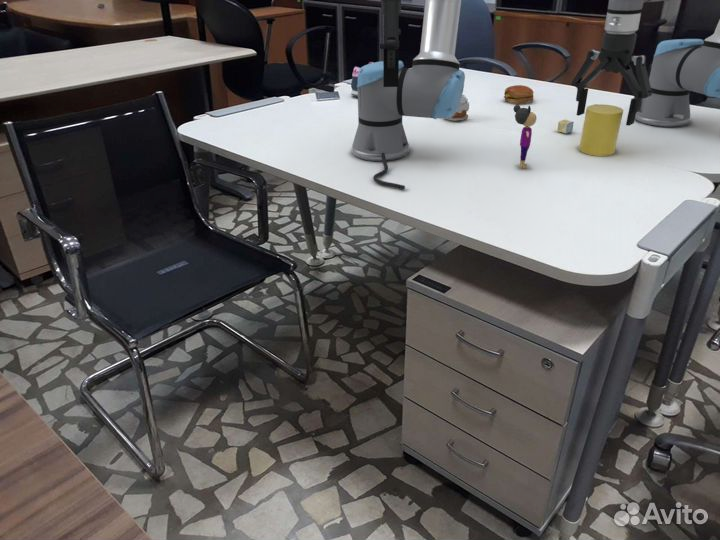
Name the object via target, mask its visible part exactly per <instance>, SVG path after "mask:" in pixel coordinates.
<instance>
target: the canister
mask: <svg viewBox="0 0 720 540" xmlns="http://www.w3.org/2000/svg"><path fill="white" fill-rule="evenodd" d="M623 114H624V109H623V108H622V107H619V106H616V105H612V104H599V103H598V104H591V105H588V106H586V108H585V113H584V120H583V125H582V126H583V127H582V130H581V136H580V142H579V147H578V149H579V152H581V153H583V154H586V155H590V156H594V157H607V156H612V155H613V154H615V152H616V147H617V144H618V143H617V142H618V137H619V133H620V127H621V124H622V120H623V119H622V118H623Z"/></svg>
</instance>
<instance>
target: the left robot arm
mask: <svg viewBox="0 0 720 540" xmlns="http://www.w3.org/2000/svg"><path fill="white" fill-rule="evenodd" d="M380 2H381V3H380V4H381V6H380V7H381V15H383V17H384V18H383V19H384V20H383V23H384V24H383V43H379V50H382V51H383V58H382V59H383V60H382V61H376V62H373V63H371V64H369V63H368V64H365V65H363V66H361V67H359V68H360V69H359V71H358V84H357V90H358V97H357V112H358V113H357V115H358V118H357V119H358V125H357V128H356V131H355V135H354V138H353V141H352V144H351V147H352V155H353V156H354V157H356V158H358V159H360V160H364V161H371V162H382V164H383V169H382V170H381V171H379V172H377V173H376V174H374V175H373V178H372V179H373V181H374V182H375V183H377V184H379V185H380V186H385V187H389V188H394V189H399V190H405V189H406V185H404V184H400V183H396V182H395V183H394V182H389V181H384V180H381V179H379V177H381V176H383V175H385V174H387V172H388V169H389V165H388V163H387V162H389V161H394V160H398V159H399V160H400V159H401V158H404V157H406V156H407V155H409V151H410V150H409V149H410V145H409V141H408V137H407V134H406V132H405V128H404V125H403V124H404V123H403V117H411V118H413V117H414V118H425V119H433V120H437V119H440V120H441V119H445V120H448V118H451V117H452V116H454V114H455V113H456V111H457V109H458V107H459V104H460V101H461V97H462V95H463V92H464V89H465V80H466V73H465V71H463V70H462V69H460V67H461V63H460V62H459V60H458V59H457V57H456V49H457V48H456V47H457V39H458V30H459V24H460V23H459V22H460V14H461V6H462V0H425V2H424V3H425V4H424V11H423V21H422V31H421V38H420V40H421V41H420V49H419V53H418V55H416V56H415V57H414V58H413V59H412V67H405V64H404V62H403V61H402V60H400V48H399V47H400V40H399V39H400V38H399V35H401V33H402V32H401V31H402V30H401V28H399V27H400V26H399V24H400V23H399V20H400V19H399V16H400V14H402V0H380Z"/></svg>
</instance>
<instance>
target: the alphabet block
mask: <svg viewBox="0 0 720 540" xmlns="http://www.w3.org/2000/svg"><path fill="white" fill-rule="evenodd" d="M573 129H574V121H573V120H568V119H561V120H559V121H558V122H557V132H559V133H563V134H568V133H569V134H570V133H571V132H573Z"/></svg>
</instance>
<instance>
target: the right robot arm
mask: <svg viewBox="0 0 720 540" xmlns="http://www.w3.org/2000/svg"><path fill="white" fill-rule="evenodd" d="M663 1H664V2H665V1H666V2H669V1H670V0H608V4H607V11H606V17H605V22H604V27H603V30H604V31H605V32H604V33H602V39H601V46H600V47H601V49H600V51H598V50H597V49H596V48H594V49H591V50H588V52H587V55H586V58H585V60H584V61H583V63H582V65H581V66H580V68H579V70H578V71H577V73H576V74H575V76H574V77H573V79H572V81H571V83H570V85H571V86H572V87H575V88H576V89H577V90H576V97H575V101H576V102H578V103H577V109H576V116H581V115H585V113H586V107H587V99H588V93H589V88H587V87H588V85H589V84H590V83H592V82H593V80H595V79H596V78H597V77H598V76H599V75H600V74H601V73H603V71H604V72H605V73H606V72H607V73H610V72H612V73H613V74H620V76H621V77H623V78H624V80H625V82H626V84H627V86H628V88H629V90H630V92H631V93H632V96H633V97H632V98H631V99H630V103H629V107H628V113H627V117H626V123H625V126H627V127H628V126H629V127H630V126H631V125H633V124H635V121H637V122H639V123H642V124H645V125H648V126H649V125H650V126H654V127H662V128H663V127H664V128H675V127H684V126H687V125H689V123H690V121H691V120H690V119H691V106H690V104H691V103H690V94H691V92H693V93H696V94H701V95H704V96H706V97H709V98H718V99H720V19H718V23H717V24H716V27H715V30H714V33H713V34H711V35H710V36H708V37H706V38H705V39H701V38H682V39H681V38H680V39H678V38H677V39H669V40H668V39H667V40H662V41H660V42H659V43H658V44H657V46H656V49H655V52H654V54H653V58H652V63H651V68H650V73H648V70H647V67H646V61H647V56H646V55H645V54H642V55H634V50H635V47H636V42H637V37H638V35H637V33H636V32H637V31H638V30H639V26H640V21H641V16H642V11H643V6H644V4H646V3H653V2H654V3H655V2H663ZM597 59H598V61H599V64H598V65H597V66H596V67H595V68H594V69H593V70H592V71H591V72H590V73H589V74H587V73H588V71H589V69H590V68H591V67H592V65H593V64H594V62H595V61H596V60H597ZM632 63H633V65H634V66H635V71H636V76H637V78H636V76H635V74H634V73H633V67H631V64H632ZM648 74H649V75H648ZM586 75H587V76H586ZM637 79H638V80H637Z"/></svg>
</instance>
